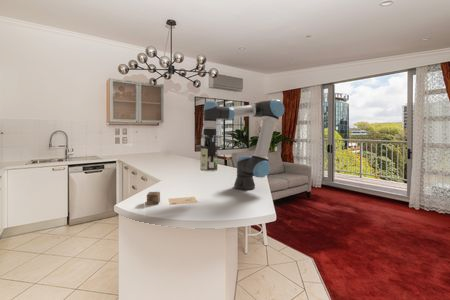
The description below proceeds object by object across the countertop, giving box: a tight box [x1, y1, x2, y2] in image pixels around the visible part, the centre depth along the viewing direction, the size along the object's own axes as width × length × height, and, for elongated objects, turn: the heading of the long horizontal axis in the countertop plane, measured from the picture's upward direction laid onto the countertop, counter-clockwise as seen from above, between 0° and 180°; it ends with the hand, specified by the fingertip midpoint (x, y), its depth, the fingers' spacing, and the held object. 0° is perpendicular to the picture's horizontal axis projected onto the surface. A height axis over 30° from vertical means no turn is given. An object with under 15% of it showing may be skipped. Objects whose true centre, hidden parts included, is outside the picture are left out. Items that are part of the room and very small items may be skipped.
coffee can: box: [199, 145, 219, 172], centre depth 139 cm, size 10×10×14 cm
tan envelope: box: [168, 196, 199, 206], centre depth 138 cm, size 16×12×1 cm
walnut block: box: [146, 191, 161, 206], centre depth 132 cm, size 6×6×6 cm
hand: (208, 166), depth 139 cm, fingers closed on coffee can, 10 cm apart
